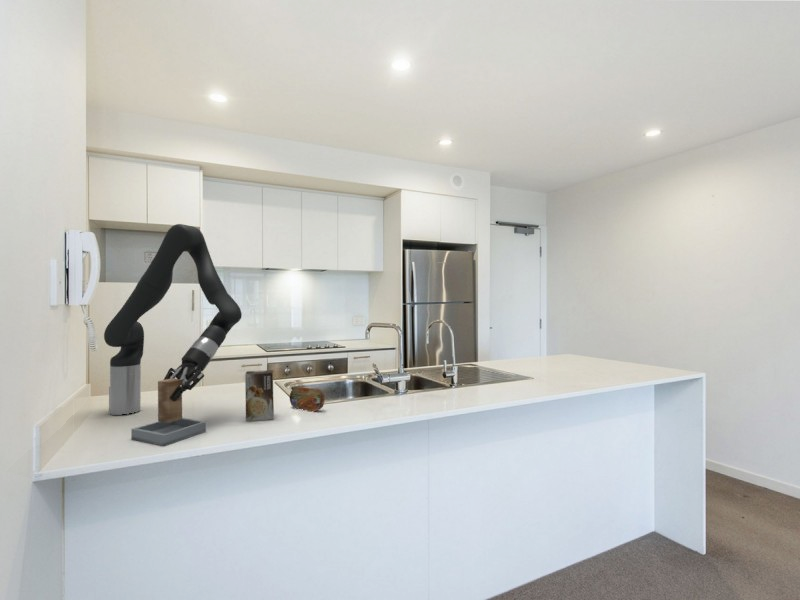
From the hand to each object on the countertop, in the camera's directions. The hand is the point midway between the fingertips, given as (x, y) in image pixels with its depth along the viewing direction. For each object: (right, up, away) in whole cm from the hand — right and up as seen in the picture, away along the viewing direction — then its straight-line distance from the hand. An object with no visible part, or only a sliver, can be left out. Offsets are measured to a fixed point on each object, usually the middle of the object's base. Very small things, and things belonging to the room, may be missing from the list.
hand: (166, 399), depth 123 cm
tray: (0, -11, +1) cm, 11 cm away
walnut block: (0, -7, +1) cm, 7 cm away
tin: (+35, -12, +31) cm, 48 cm away
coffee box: (+21, -11, +19) cm, 31 cm away
